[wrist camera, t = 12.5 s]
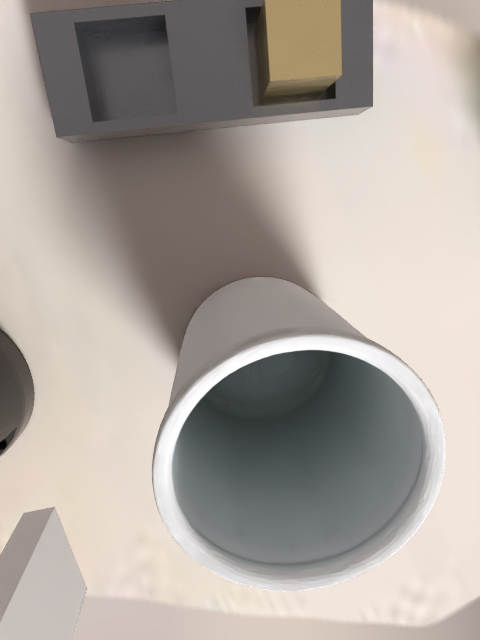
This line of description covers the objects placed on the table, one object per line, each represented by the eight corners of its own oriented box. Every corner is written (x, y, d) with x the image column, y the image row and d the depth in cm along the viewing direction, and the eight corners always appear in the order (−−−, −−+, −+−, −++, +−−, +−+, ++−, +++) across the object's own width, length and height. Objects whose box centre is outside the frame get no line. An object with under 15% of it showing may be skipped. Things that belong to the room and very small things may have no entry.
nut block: (259, 102, 30) (270, 81, 24) (254, 34, 29) (264, -6, 23) (317, 97, 30) (341, 74, 25) (315, 29, 29) (340, -12, 23)
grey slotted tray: (71, 142, 31) (56, 137, 28) (48, 31, 28) (29, 13, 26) (358, 114, 31) (372, 106, 28) (357, 4, 29) (372, -17, 26)
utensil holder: (321, 244, 34) (426, 292, 17) (357, 395, 39) (468, 548, 22) (155, 296, 34) (101, 392, 18) (209, 440, 39) (207, 624, 22)
